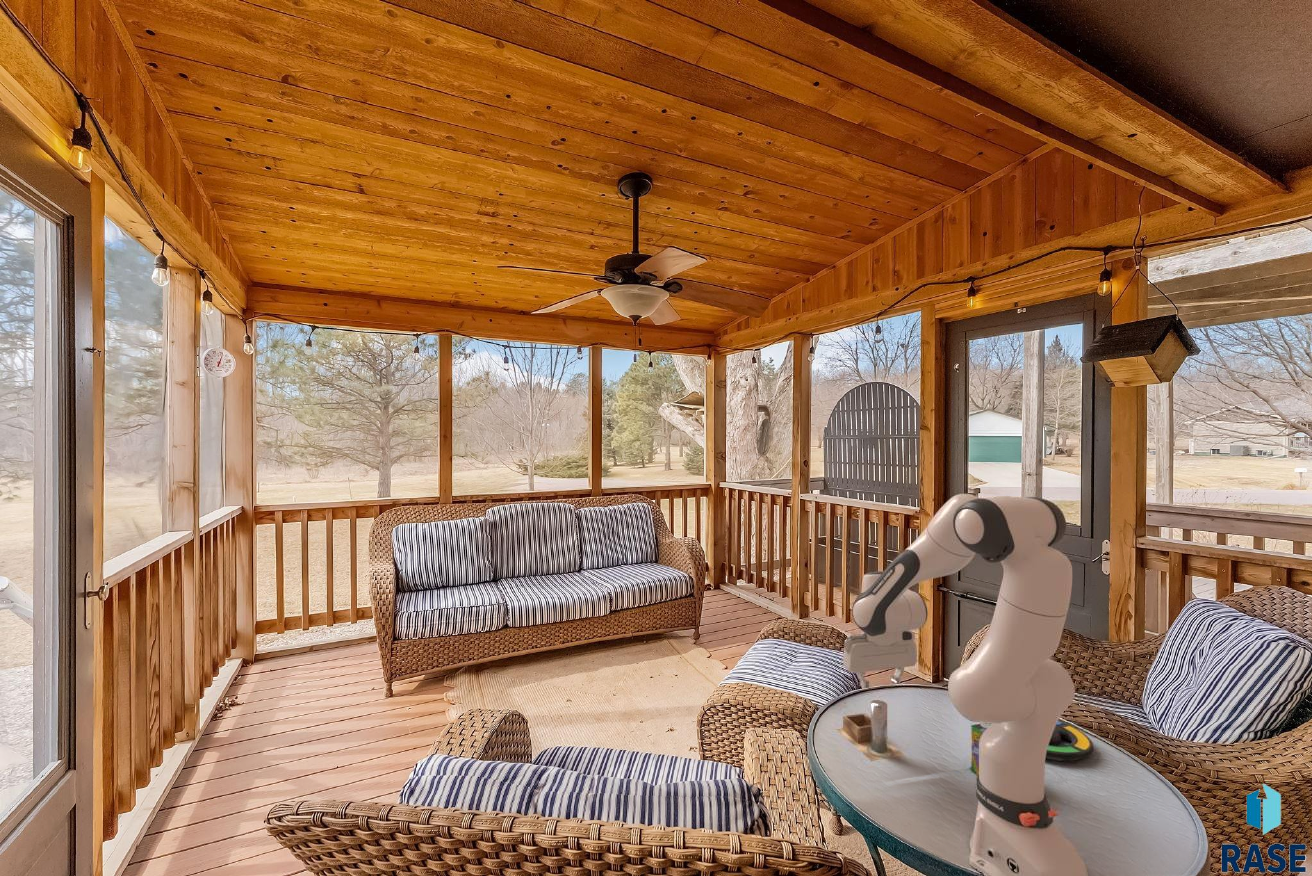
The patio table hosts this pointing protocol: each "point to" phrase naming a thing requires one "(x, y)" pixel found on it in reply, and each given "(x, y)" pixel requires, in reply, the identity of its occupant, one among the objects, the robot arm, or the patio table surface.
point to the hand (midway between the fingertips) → (880, 685)
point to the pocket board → (864, 736)
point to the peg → (879, 726)
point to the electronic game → (1073, 751)
